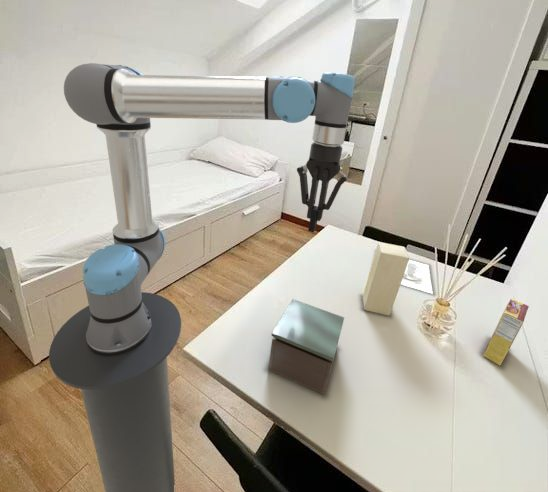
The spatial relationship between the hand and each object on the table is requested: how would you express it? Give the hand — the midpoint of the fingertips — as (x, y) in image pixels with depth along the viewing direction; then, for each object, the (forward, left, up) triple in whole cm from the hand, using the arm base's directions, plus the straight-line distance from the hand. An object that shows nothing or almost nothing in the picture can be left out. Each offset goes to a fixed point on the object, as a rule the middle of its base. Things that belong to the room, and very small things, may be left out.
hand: (312, 229), depth 79 cm
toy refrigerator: (+22, +12, -26) cm, 36 cm away
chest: (+7, -18, -26) cm, 32 cm away
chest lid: (+7, -18, -16) cm, 25 cm away
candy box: (+54, +9, -26) cm, 61 cm away
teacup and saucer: (+30, +38, -26) cm, 55 cm away
